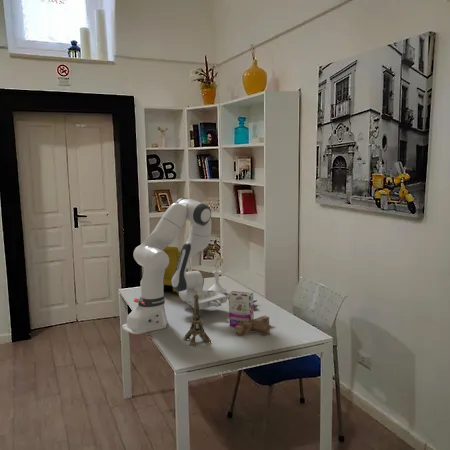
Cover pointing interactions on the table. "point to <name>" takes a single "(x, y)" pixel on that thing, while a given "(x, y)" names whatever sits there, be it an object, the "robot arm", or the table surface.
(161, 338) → the table surface
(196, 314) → the eiffel tower
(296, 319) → the table surface
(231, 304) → the candy bar box
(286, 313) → the table surface
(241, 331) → the walnut T stop
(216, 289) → the flower in vase
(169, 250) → the vintage telephone
